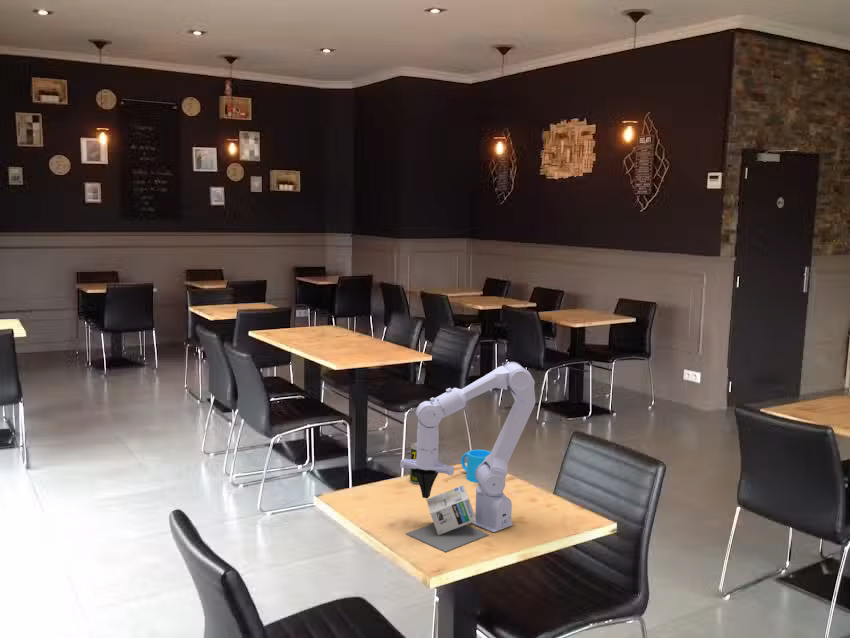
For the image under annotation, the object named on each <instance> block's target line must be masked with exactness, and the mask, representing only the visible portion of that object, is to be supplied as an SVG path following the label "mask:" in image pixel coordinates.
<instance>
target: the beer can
mask: <svg viewBox="0 0 850 638" xmlns="http://www.w3.org/2000/svg"><path fill="white" fill-rule="evenodd" d="M416 456H417V441H415V442H411V446H410V458H409V459H415V460H416ZM415 472H416V469H412V468H409V480H410V483H412V485H419V483H418V480H417V478H416V477H415ZM419 486H420V485H419Z"/></svg>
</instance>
